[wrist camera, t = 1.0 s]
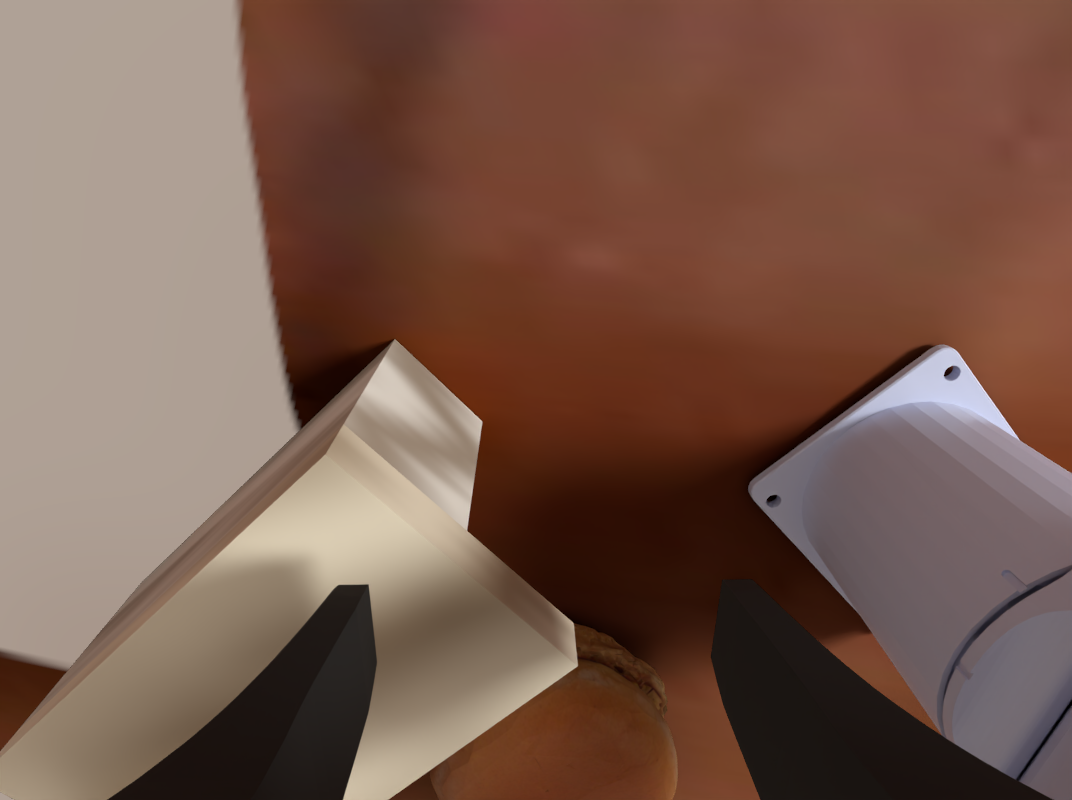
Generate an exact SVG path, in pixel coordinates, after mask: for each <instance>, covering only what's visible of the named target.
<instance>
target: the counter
mask: <svg viewBox="0 0 1072 800" xmlns="http://www.w3.org/2000/svg"><path fill="white" fill-rule="evenodd" d="M481 428H482V421H481V420H480V419H479V418H478V417H477V416H476V415H475V414H474V413H473V412H472V411H471V410H470V409H469V408H467V407H466V406H465V405H464V404H463V403H462V402H461V401H460V400H459V399H458V398H457V397H456V396H455V395H454V394H453V393H452V392H451V391H449V390H448V389H447V388H446V387H445V386H444V385H443V384H442V383H441V382H440V381H439V380H438V379H437V378H436V377H435V376H434V375H433V374H431V373H430V372H429V371H428V370H427V369H426V368H425V367H424V366H423V365H422V364H421V363H420V362H419V361H418V360H417V359H416V358H414V357H413V356H412V355H411V354H410V353H409V352H408V351H407V350H406V349H405V348H404V347H403V346H402V345H401V344H400V343H399V342H398V341H396V340H395V339H394V340H393V341H392V342H391V343H390V344H389V345H388V346H387V347H386V348H385V349H384V350H383V351H382V352H381V353H380V354H379V355H378V356H377V357H376V358H375V359H374V360H373V361H372V362H371V363H369V364H368V365H367V366H366V367H365V368H364V369H363V370H362V371H361V372H360V373H359V374H358V375H357V376H356V377H355V378H354V379H353V380H352V381H351V382H350V383H349V384H348V385H347V386H346V387H345V388H343V389H342V390H341V391H340V392H339V393H338V394H337V395H336V396H335V397H334V398H333V399H332V400H331V401H330V402H329V403H328V404H327V405H326V406H325V407H324V408H323V409H322V410H321V411H320V412H318V413H317V414H316V415H315V416H314V417H313V418H312V419H311V420H310V421H309V422H308V423H307V424H306V425H305V426H304V427H303V428H302V429H301V430H300V431H299V432H298V433H297V434H296V435H295V436H294V437H293V438H291V440H289V441H288V442H287V443H286V444H285V445H284V446H283V447H282V448H281V449H280V450H279V451H278V452H277V453H276V454H275V455H274V456H273V457H272V458H271V459H270V460H269V461H268V462H266V463H265V464H264V465H263V466H262V467H261V468H260V469H259V470H258V471H257V472H256V473H255V474H254V475H253V476H252V477H251V478H250V479H249V480H248V481H247V482H246V483H245V484H244V485H243V486H241V487H240V488H239V489H238V490H237V491H236V492H235V493H234V494H233V495H232V496H231V497H230V498H229V499H228V500H227V501H226V502H225V503H224V504H223V505H222V506H221V507H220V508H219V509H218V510H217V511H215V512H214V513H213V514H212V515H211V516H210V517H209V518H208V519H207V520H206V521H205V522H204V523H203V524H202V525H201V526H200V527H199V528H198V529H197V530H196V531H195V532H194V533H193V534H192V535H191V536H189V537H188V538H187V539H186V540H185V541H184V542H183V543H182V545H180V546H179V547H178V548H177V549H176V550H175V551H174V552H173V553H172V554H171V555H170V556H169V557H168V558H167V559H166V560H165V561H163V562H162V563H161V564H160V565H159V566H158V567H157V568H156V569H155V570H154V571H153V572H152V573H151V574H150V575H149V576H148V577H147V578H146V579H145V580H144V581H143V582H142V583H141V584H140V585H139V586H138V587H137V588H136V590H135V591H134V592H133V593H132V595H131V596H130V597H129V598H128V599H127V600H126V602H125V603H124V604H123V605H122V606H121V608H120V609H119V610H118V612H116V614H115V615H114V616H113V617H112V618H111V620H110V621H109V622H108V623H107V625H106V626H105V627H104V628H103V629H102V630H101V632H100V633H99V634H98V635H97V636H96V638H95V639H94V640H93V641H92V642H91V644H90V645H89V646H88V647H87V648H86V649H85V651H84V652H83V653H82V654H81V656H80V657H79V658H78V659H77V660H76V662H75V663H74V664H73V665H72V666H71V667H70V669H69V670H68V671H67V672H66V673H65V675H64V676H63V677H62V678H61V679H60V681H59V682H58V683H57V684H56V685H55V687H54V688H53V689H52V690H51V691H50V693H49V694H48V695H47V696H46V697H45V699H44V700H43V701H42V702H41V703H40V705H39V706H38V707H37V708H36V709H35V710H34V712H33V713H32V714H31V715H30V716H29V718H28V719H27V720H26V721H25V722H24V724H23V725H22V726H21V727H20V728H19V730H18V731H17V732H16V733H15V734H14V736H13V737H12V738H11V739H10V740H9V742H8V743H7V744H6V745H5V746H4V748H3V749H2V750H1V751H0V792H2V793H3V794H5V795H7V796H9V797H10V798H12V799H14V800H107V799H109V798H110V797H112V796H113V795H115V794H116V793H118V792H119V791H121V790H122V789H123V788H125V787H126V786H128V785H129V784H131V783H132V782H134V781H135V780H136V779H138V778H139V777H140V776H142V775H143V774H144V773H146V772H147V771H148V770H150V769H151V768H152V767H154V766H155V765H156V764H158V763H159V762H160V761H161V760H163V759H164V758H165V757H167V756H168V755H169V754H171V753H172V752H173V751H175V750H176V749H177V748H178V747H180V746H181V745H182V744H184V743H185V742H186V741H187V740H189V739H190V738H191V737H192V736H193V735H195V734H196V733H197V732H198V731H199V730H200V729H201V728H203V727H204V726H205V725H206V724H207V723H208V722H210V721H211V720H212V719H213V718H214V717H215V716H216V715H217V714H219V713H220V712H221V711H222V710H223V709H224V708H225V707H226V706H227V705H228V704H229V703H230V702H231V701H233V700H234V699H235V698H236V697H237V696H238V695H239V694H240V693H241V692H242V691H243V690H244V689H245V688H246V687H247V686H248V685H249V684H250V683H251V682H252V681H253V680H254V679H255V678H256V677H257V676H258V675H259V674H260V673H261V672H262V671H263V670H264V669H265V667H266V666H267V665H268V664H269V663H270V662H271V661H272V660H273V659H274V658H275V657H276V656H277V655H278V653H279V652H280V651H281V650H282V649H283V648H284V647H285V646H286V645H287V643H288V642H289V641H290V640H291V639H292V638H293V637H294V636H295V635H296V633H297V632H298V631H299V630H300V629H301V628H302V626H303V625H304V624H305V623H306V622H307V621H308V619H309V618H310V617H311V616H312V615H313V613H314V612H315V611H316V610H317V609H318V607H319V606H320V605H321V604H322V602H323V601H324V600H325V599H326V598H327V596H328V595H329V594H330V593H331V592H332V590H333V589H334V588H335V587H336V586H338V585H362V584H369V592H370V601H371V610H372V620H373V629H374V638H375V647H376V656H377V667H376V673H375V679H374V685H373V691H372V697H371V702H370V708H369V713H368V716H367V720H366V723H365V727H364V730H363V734H362V737H361V741H360V744H359V747H358V751H357V754H356V758H355V761H354V764H353V768H352V771H351V774H350V778H349V781H348V784H347V788H346V791H345V795H344V798H343V800H389V799H390V798H391V797H393V796H394V795H396V794H397V793H398V792H400V791H401V790H403V789H404V788H406V787H407V786H408V785H410V784H411V783H413V782H414V781H416V780H417V779H418V778H420V777H421V776H423V775H424V774H425V773H427V772H428V771H430V770H431V769H433V768H434V767H435V766H437V765H438V764H440V763H441V762H443V761H444V760H445V759H447V758H448V757H450V756H451V755H452V754H454V753H455V752H457V751H458V750H460V749H461V748H462V747H464V746H465V745H467V744H468V743H469V742H471V741H472V740H474V739H475V738H477V737H478V736H479V735H481V734H482V733H484V732H485V731H487V730H488V729H489V728H491V727H492V726H494V725H495V724H496V723H498V722H499V721H501V720H502V719H504V718H505V717H506V716H508V715H509V714H511V713H512V712H514V711H515V710H516V709H518V708H519V707H521V706H522V705H523V704H525V703H526V702H528V701H529V700H531V699H532V698H533V697H535V696H536V695H538V694H539V693H540V692H542V691H543V690H545V689H546V688H548V687H549V686H550V685H552V684H553V683H555V682H556V681H558V680H559V679H560V678H562V677H563V676H565V675H566V674H567V673H569V672H570V671H572V670H573V669H575V668H576V667H577V666H578V661H577V651H576V641H575V631H574V623H573V622H572V621H571V620H569V619H568V618H567V617H566V616H565V615H564V614H562V613H561V612H560V611H559V610H558V609H557V608H556V607H554V606H553V605H552V604H551V603H550V602H549V601H547V600H546V599H545V598H544V597H543V596H542V595H541V594H539V593H538V592H537V591H536V590H535V589H534V588H532V587H531V586H530V585H529V584H528V583H527V582H526V581H524V580H523V579H522V578H521V577H520V576H519V575H517V574H516V573H515V572H514V571H513V570H512V569H510V568H509V567H508V566H507V565H506V564H505V563H504V562H502V561H501V560H500V559H499V558H498V557H497V556H495V555H494V554H493V553H492V552H491V551H490V550H489V549H487V548H486V547H485V546H484V545H483V544H482V543H480V542H479V541H478V540H477V539H476V538H475V537H474V536H472V535H471V534H470V533H469V532H468V531H467V527H468V520H469V513H470V506H471V499H472V492H473V485H474V477H475V470H476V463H477V456H478V449H479V442H480V435H481Z"/></svg>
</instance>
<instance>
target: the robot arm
mask: <svg viewBox="0 0 1072 800" xmlns="http://www.w3.org/2000/svg"><path fill="white" fill-rule="evenodd" d="M951 366H953V370H952V372H951V373H950V374H949V375H947V376H945V377H944V373H945V371H946V369H947V368H949V367H951ZM748 492H749V494H750V495H751V497H752V499H753V500H754V501H755V502H756V503H757V505H758V506H759V507H760V508H761V509H762V510H763V511H764V512H765V513H766V514H767V515H768V516H769V518H770V519H771V520H772V521H773V522H774V523H775V524H776V525H777V526H778V527H779V528H780V529H781V530H782V532H783V533H784V534H785V535H786V536H787V537H788V538H789V539H790V540H791V541H792V542H793V543H794V545H795V546H796V547H797V548H798V549H799V550H800V551H801V552H802V553H803V554H804V555H805V556H806V558H807V559H808V560H809V561H810V562H811V563H812V564H813V565H814V566H815V567H816V568H817V569H818V570H819V572H820V573H821V574H822V575H823V576H824V577H825V578H826V579H827V580H828V581H829V582H830V583H831V585H832V586H833V587H834V588H835V589H836V590H837V591H838V592H839V593H840V594H841V595H842V596H843V598H844V599H845V600H846V601H847V602H848V603H849V604H850V605H851V606H852V607H853V608H854V609H855V610H856V612H857V613H858V614H859V615H860V616H861V618H862V619H863V621H864V622H865V624H866V625H867V626H868V628H869V629H870V631H871V632H872V634H873V635H874V637H875V638H876V640H877V641H878V643H879V644H880V645H881V647H882V648H883V650H884V651H885V653H886V654H887V656H888V657H889V659H890V660H891V661H892V663H893V664H894V666H895V667H896V669H897V670H898V672H899V673H900V675H901V676H902V678H903V679H904V680H905V682H906V683H907V685H908V686H909V688H910V689H911V691H912V692H913V694H914V695H915V697H916V698H917V699H918V701H919V702H920V704H921V705H922V707H923V708H924V710H925V711H926V713H927V714H928V715H929V717H930V718H931V720H932V721H933V723H934V724H935V726H936V727H937V729H938V730H939V732H940V733H941V734H942V736H941V735H940V734H938V733H937V732H935V731H934V730H932V729H931V728H929V727H928V726H926V725H925V724H923V723H922V722H920V721H919V720H918V719H916V718H915V717H913V716H912V715H910V714H909V713H908V712H906V711H905V710H903V709H902V708H901V707H899V706H898V705H896V704H895V703H894V702H892V701H891V700H889V699H888V698H887V697H885V696H884V695H883V694H881V693H880V692H879V691H877V690H876V689H875V688H873V687H872V686H871V685H870V684H868V683H867V682H866V681H865V680H864V679H862V678H861V677H860V676H859V675H857V674H856V673H855V672H854V671H852V670H851V669H850V668H849V667H847V666H846V665H845V664H844V663H843V662H841V661H840V660H839V659H838V658H837V657H836V656H834V655H833V654H832V653H831V652H830V651H829V650H828V649H826V648H825V647H824V646H823V645H822V644H821V643H820V642H818V641H817V640H816V639H815V638H814V637H813V636H812V635H811V634H810V633H809V632H807V631H806V630H805V629H804V628H803V627H802V626H801V625H800V624H799V623H798V622H797V621H796V620H794V619H793V618H792V617H791V616H790V615H789V614H788V613H787V612H786V611H785V610H784V609H783V608H782V607H781V606H780V605H779V604H778V603H777V602H775V601H774V600H773V599H772V598H771V597H770V596H769V595H768V594H767V593H766V592H765V591H764V590H763V589H762V588H761V587H760V586H759V585H757V584H756V583H755V582H754V581H753V580H752V579H736V580H722V585H721V592H720V599H719V605H718V612H717V619H716V625H715V632H714V639H713V646H712V652H711V659H712V663H713V667H714V671H715V675H716V679H717V683H718V687H719V691H720V694H721V698H722V702H723V705H724V708H725V711H726V713H727V716H728V718H729V721H730V724H731V726H732V729H733V731H734V734H735V736H736V739H737V742H738V744H739V747H740V749H741V752H742V754H743V757H744V759H745V762H746V764H747V767H748V769H749V772H750V774H751V777H752V779H753V782H754V784H755V787H756V789H757V792H758V794H759V797H760V799H761V800H1072V473H1070V472H1068V471H1067V470H1065V469H1064V468H1062V467H1061V466H1059V465H1057V464H1056V463H1054V462H1053V461H1051V460H1050V459H1048V458H1046V457H1045V456H1043V455H1042V454H1040V453H1039V452H1037V451H1035V450H1034V449H1032V448H1031V447H1029V446H1028V445H1026V444H1024V443H1023V442H1021V441H1020V440H1019V439H1018V437H1017V436H1016V434H1015V433H1014V431H1013V430H1012V429H1011V427H1010V426H1009V424H1008V423H1007V422H1006V420H1005V419H1004V417H1003V416H1002V414H1001V413H1000V412H999V410H998V409H997V407H996V406H995V404H994V403H993V402H992V400H991V399H990V397H989V396H988V395H987V393H986V392H985V390H984V389H983V387H982V386H981V385H980V383H979V382H978V380H977V379H976V377H975V376H974V375H973V373H972V372H971V370H970V369H969V368H968V366H967V365H966V363H965V362H964V360H963V359H962V358H961V356H960V355H959V353H958V352H957V351H956V350H955V349H953V348H951V347H949V346H947V345H936V346H934V347H933V348H931V349H929V350H928V351H927V352H925V353H924V354H922V355H921V356H920V357H918V358H917V359H916V360H914V361H913V362H912V363H910V364H909V365H907V366H906V367H905V368H903V369H902V370H901V371H899V372H898V373H897V374H895V375H894V376H892V377H891V378H890V379H888V380H887V381H886V382H884V383H883V384H882V385H880V386H879V387H877V388H876V389H875V390H873V391H872V392H871V393H869V394H868V395H867V396H865V397H864V398H863V399H861V400H860V401H858V402H857V403H856V404H854V405H853V406H852V407H850V408H849V409H848V410H846V411H845V412H843V413H842V414H841V415H839V416H838V417H837V418H835V419H834V420H833V421H831V422H830V423H828V424H827V425H826V426H824V427H823V428H822V429H820V430H819V431H818V432H816V433H815V434H813V435H812V436H811V437H809V438H808V439H807V440H805V441H804V442H803V443H801V444H800V445H798V446H797V447H796V448H794V449H793V450H792V451H790V452H789V453H788V454H786V455H785V456H784V457H782V458H781V459H779V460H778V461H777V462H775V463H774V464H773V465H771V466H770V467H769V468H767V469H766V470H764V471H763V472H762V473H760V474H759V475H758V476H756V477H755V478H754V479H753V480H752V481H751V482H750V484H749V486H748ZM772 495H777V497H776V499H775V500H773V501H771V502H766V501H767V499H768V497H769V496H772ZM376 667H377V656H376V647H375V638H374V629H373V620H372V610H371V601H370V592H369V584H362V585H338V586H336V587H335V588H334V589H333V590H332V592H331V593H330V594H329V595H328V596H327V598H326V599H325V600H324V601H323V602H322V604H321V605H320V606H319V607H318V609H317V610H316V611H315V612H314V613H313V615H312V616H311V617H310V618H309V619H308V621H307V622H306V623H305V624H304V625H303V626H302V628H301V629H300V630H299V631H298V632H297V633H296V635H295V636H294V637H293V638H292V639H291V640H290V641H289V642H288V643H287V645H286V646H285V647H284V648H283V649H282V650H281V651H280V652H279V653H278V655H277V656H276V657H275V658H274V659H273V660H272V661H271V662H270V663H269V664H268V665H267V666H266V667H265V669H264V670H263V671H262V672H261V673H260V674H259V675H258V676H257V677H256V678H255V679H254V680H253V681H252V682H251V683H250V684H249V685H248V686H247V687H246V688H245V689H244V690H243V691H242V692H241V693H240V694H239V695H238V696H237V697H236V698H235V699H234V700H233V701H231V702H230V703H229V704H228V705H227V706H226V707H225V708H224V709H223V710H222V711H221V712H220V713H219V714H217V715H216V716H215V717H214V718H213V719H212V720H211V721H210V722H208V723H207V724H206V725H205V726H204V727H203V728H201V729H200V730H199V731H198V732H197V733H196V734H195V735H193V736H192V737H191V738H190V739H189V740H187V741H186V742H185V743H184V744H182V745H181V746H180V747H178V748H177V749H176V750H175V751H173V752H172V753H171V754H169V755H168V756H167V757H165V758H164V759H163V760H161V761H160V762H159V763H158V764H156V765H155V766H154V767H152V768H151V769H150V770H148V771H147V772H146V773H144V774H143V775H142V776H140V777H139V778H138V779H136V780H135V781H134V782H132V783H131V784H129V785H128V786H126V787H125V788H123V789H122V790H121V791H119V792H118V793H116V794H115V795H113V796H112V797H110V798H109V799H107V800H343V798H344V795H345V791H346V788H347V784H348V781H349V778H350V774H351V771H352V768H353V764H354V761H355V758H356V754H357V751H358V747H359V744H360V741H361V737H362V734H363V730H364V727H365V723H366V720H367V716H368V713H369V708H370V702H371V697H372V691H373V685H374V679H375V673H376Z"/></svg>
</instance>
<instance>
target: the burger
mask: <svg viewBox="0 0 1072 800" xmlns="http://www.w3.org/2000/svg"><path fill="white" fill-rule="evenodd" d="M574 631H575V641H576V651H577V661H578V666H577V667H576V668H575V669H573V670H572V671H570V672H569V673H567V674H566V675H565V676H563V677H562V678H560V679H559V680H558V681H556V682H555V683H553V684H552V685H550V686H549V687H548V688H546V689H545V690H543V691H542V692H540V693H539V694H538V695H536V696H535V697H533V698H532V699H531V700H529V701H528V702H526V703H525V704H523V705H522V706H521V707H519V708H518V709H516V710H515V711H514V712H512V713H511V714H509V715H508V716H506V717H505V718H504V719H502V720H501V721H499V722H498V723H496V724H495V725H494V726H492V727H491V728H489V729H488V730H487V731H485V732H484V733H482V734H481V735H479V736H478V737H477V738H475V739H474V740H472V741H471V742H469V743H468V744H467V745H465V746H464V747H462V748H461V749H460V750H458V751H457V752H455V753H454V754H452V755H451V756H450V757H448V758H447V759H445V760H444V761H443V762H441V763H440V764H438V765H437V766H435V767H434V768H433V769H431V770H430V771H429V773H430V780H431V783H432V785H433V787H434V790H435V792H436V795H437V797H438V799H439V800H672V799H673V796H674V794H675V791H676V785H677V779H678V766H677V754H676V750H675V747H674V742H673V738H672V734H671V732H670V729H669V726H668V724H667V723H666V721H665V719H664V718H663V717H664V714H665V713H666V711H667V707H666V704H667V702H668V701H667V697H666V695H665V686H664V684H663V682H662V680H661V679H660V677H659V675H658V674H657V673H656V671H655V669H654V668H652V667H651V666H650V665H648V664H647V663H646V662H644V661H642V660H641V659H639V658H636V657H634V656H633V655H632V654H631V653H630V652H629V651H628V650H626V649H625V647H622V646H621V645H619V644H618V643H617V642H616V641H615V640H614V639H613V638H612V637H610V636H608V635H606V634H604V633H602V632H601V633H598V632H597V631H596V630H595V629H592V628H589V627H587V626H582V625H578V624H574Z"/></svg>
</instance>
